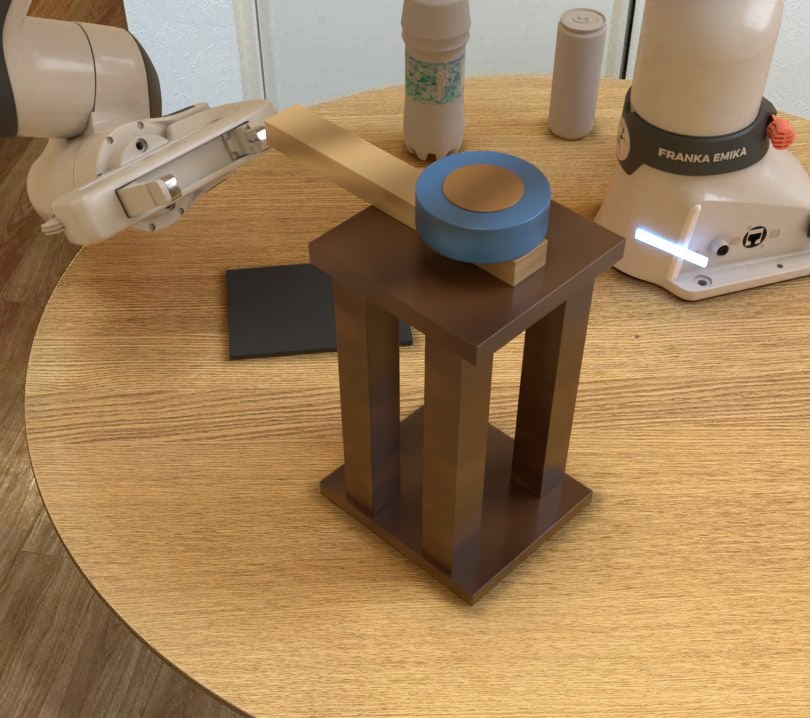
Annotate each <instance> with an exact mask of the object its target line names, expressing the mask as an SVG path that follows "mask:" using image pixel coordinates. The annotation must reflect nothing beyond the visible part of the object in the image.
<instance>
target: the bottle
mask: <svg viewBox="0 0 810 718" xmlns="http://www.w3.org/2000/svg"><path fill="white" fill-rule="evenodd" d="M470 10H471V9H470V0H403V5H402V12H401V17H400V26H401V39H402V41H403V43H404V106H403V118H402V119H403V120H402V132H403V140H404V145H405V147H406V149H407V151H408V153H410V154H414V155H415V154H416V156H417V158H418V159H419V160H420V161H426V160H427V159H428V156H429V155H430V154H431V155H435V161H437V160H439V159H441V158H443V157H446V156H449V155H452V154H456V153H458V152H460V149H461V146H462V143H463V139H464V134H465V99H464V97H465V95H464V93H465V75H466V74H465V73H466V54H467V53H466V51H467V50H466V49H467V48H466V47H467V44H468V42H469V40H470V38H471V37H470V36H471V33H470V29H471V25H472V19H471V11H470Z"/></svg>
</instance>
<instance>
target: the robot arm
mask: <svg viewBox="0 0 810 718" xmlns="http://www.w3.org/2000/svg"><path fill="white" fill-rule="evenodd" d="M32 1H33V0H0V139H14V138H17V137H24V138H25V137H26V138H40V139H48V141H47V143H46V146H45V148H44V150H42V152H41V154H40V155H38V157H37V158H36V159H35V160H34V161H33V163H32V164H31V167H30V168H29V171H28V174H27V177H26V191H27V196H28V199H29V202H30V204H31V206H32V207H33V209H34V211H35V212H36V214H37V215H38V216H39V217H40V218H41V219H42V220H43V224H41V225H40V228H41V232H42V233H44V235H45V236H49V235H50V236H51V235H57V234H60V233H63V234H64V235H65V237H66V239H67V241H68V242H69V243H70V244H71V245H76V246H94V245H97V244H99V243H102V242H105V241H107V240H108V239H111V238H112V237H114V236H117V235H135V234H141V233H142V234H143V233H154V232H159V231H163V230H165V229H167V228H170V227H171V226H173V225H174V224H175V223H177V222H178V221H179V220H180V219H181V218H182V216H183V215H184V214H185V213H186V211H188V210H189V209H190V208H192V207H193V205H195V203H197V202H198V201H199V200H200V199H201V198H202V197H203V196H204V195H205V194H207V193H208V192H210V191H211V190H213V189H214V188H215V187H217V186H218V185H220V184H222V183H223V182H225V181H227V180H228V178H230V177H232V176H233V175H235V174H236V173H237V170H238V169H240V168H241V167H243V166H245V165H246V164H248V163H251V162H252V161H254V160H256V159H259V157H261V156H263V155H265V154H267V153H269V152H270V151H273V150H275V149H274V148H272V147H270V146H269V145H267V142H266V133H265V124H264V121H265V120H266V119H268V118H270V117H272V116H274V115H276V114H278V113H279V112H278V111H277V109H276V107H275V106H274V104H273V103H272V102H271V100H269V99H266V98H258V99H257V98H255V99H249V100H241V101H235V102H230V103H224V104H220V105H217V106H213V107H210V104H209V103H208V102H205V101H203V102H198V103H196V104H192V105H188V106H186V107H184V108H181V109H178V110H175V111H174V112H171V113H168V114H164V115H163V100H162V99H163V98H162V90H161V84H160V83H161V82H160V79H159V74H158V71H157V70H156V67H155V66H154V63H153V61H152V59H151V58H150V56H149V54H148V52H147V51H146V49H145V48H144V47H143V45H142V43H141V42H140V41H139V40H138V38H136V36H135V35H134V34H133V33H132V32H130V31H129V30H128V29H126V28H124V27H117V26H112V25H106V24H98V23H91V22H86V21H85V22H84V21H78V20H77V21H76V20H71V21H67V20H61V19H53V18H52V19H51V18H45V17H36V16H30V15H27V14H28V12H29V9H30V7H31V4H32ZM784 6H785V0H644V6H643V13H642V19H641V25H640V31H639V37H638V43H637V50H636V57H635V62H634V68H633V75H632V81H631V85H630V86H629V88H628V89H627V91H626V93H625V98H624V101H623V107H622V112H621V116H620V118H619V122H618V127H617V135H616V144H615V145H616V147H615V149H616V161H615V165H614V170H613V173H612V175H611V180H610V182H609V185H608V188H607V190H606V194H605V196H604V197H603V201H602V202H601V205H600V207H599V210H598V211H597V213H596V215H595V217H594V219H593V220H592V221H593V222H595V223H597V224H599V225H601V226H603V227H605V228H607V229H609V230H610V231H612V232H614V233H616V234H618V235H620V236H622V237H624V238H626V244H625V249H624V255H623V258H622V259H621V260H620V261H618V262H617V263H616V264H614V265H613V266H612V267H614V268H616V269H617V270H619V271H621V272H623V273H624V274H627V275H628V276H631V277H634V278H636V279H639V280H642V281H646V282H648V283H652V284H655V285H658V286H660V287H662V288H663V289H665V290H667V292H670V293H671V294H672V295H675V296H676V297H678V298H680V299H682V300H685V301H698V300H703V299H709V298H711V297H713V298H714V297H717V296H721V295H725V294H730V293H734V292H739V291H743V290H748V289H752V288H757V287H761V286H766V285H770V284H774V283H779V282H784V281H788V280H792V279H797V278H802V277H806V276H810V176H809V174H808V172H807V170H806V169H805V168H804V166H803V165H802V163H801V161H799V159H798V158H797V157H796V156H795V155H794V154H793V153H792V152H791V151H790V150H789V149H788V148H790V145H793V144H794V141H796V133H795V131H794V129H793V128H792V127H791V125H790V123H789V121H788V120H787V119H785V118H781V117H780V118H777V115H778V110H777V108H776V107H775V106H774V104H773V103H772V102H771V101H770V100H768V98H766V97H765V96H764V93H765V89H766V85H765V84H767V81H768V77H769V73H770V69H771V65H772V62H773V58H772V57H774V54H773V53H775V48H776V45H777V41H778V37H779V33H780V30H781V26H782V21H783V16H784V15H783V14H784ZM768 72H769V73H768ZM767 76H768V77H767ZM766 80H767V81H766ZM764 88H765V89H764ZM763 92H764V93H763Z"/></svg>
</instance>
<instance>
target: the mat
mask: <svg viewBox="0 0 810 718" xmlns="http://www.w3.org/2000/svg"><path fill="white" fill-rule="evenodd" d="M225 279H226V280H225V281H226V282H225V283H226V304H227V307H226V308H227V328H228V329H227V331H228V351H229V352H228V353H229V360H230V361H236V360H237V361H238V360H246V359H247V360H249V359H259V358H270V357H271V358H272V357H282V356H294V355H295V356H296V355H305V354H318V353H331V352H337V339H336V323H335V307H334V291H333V277H332V276H331V275H329V274H327V273H326V272H324V271H323V270H321V269H320V268H318V267H316V266H315V265H313V264H312V263H310V262H309V263H308V262H307V263H299V264H298V263H297V264H284V265H283V264H282V265H272V266H271V265H269V266H257V267H245V268H244V267H243V268H233V269H225ZM412 345H414V339H413V333H412V327H411V326H410V325H408V324H407V323H405V322H404V321H402V320H401V319H399V347H402V346H412Z"/></svg>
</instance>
